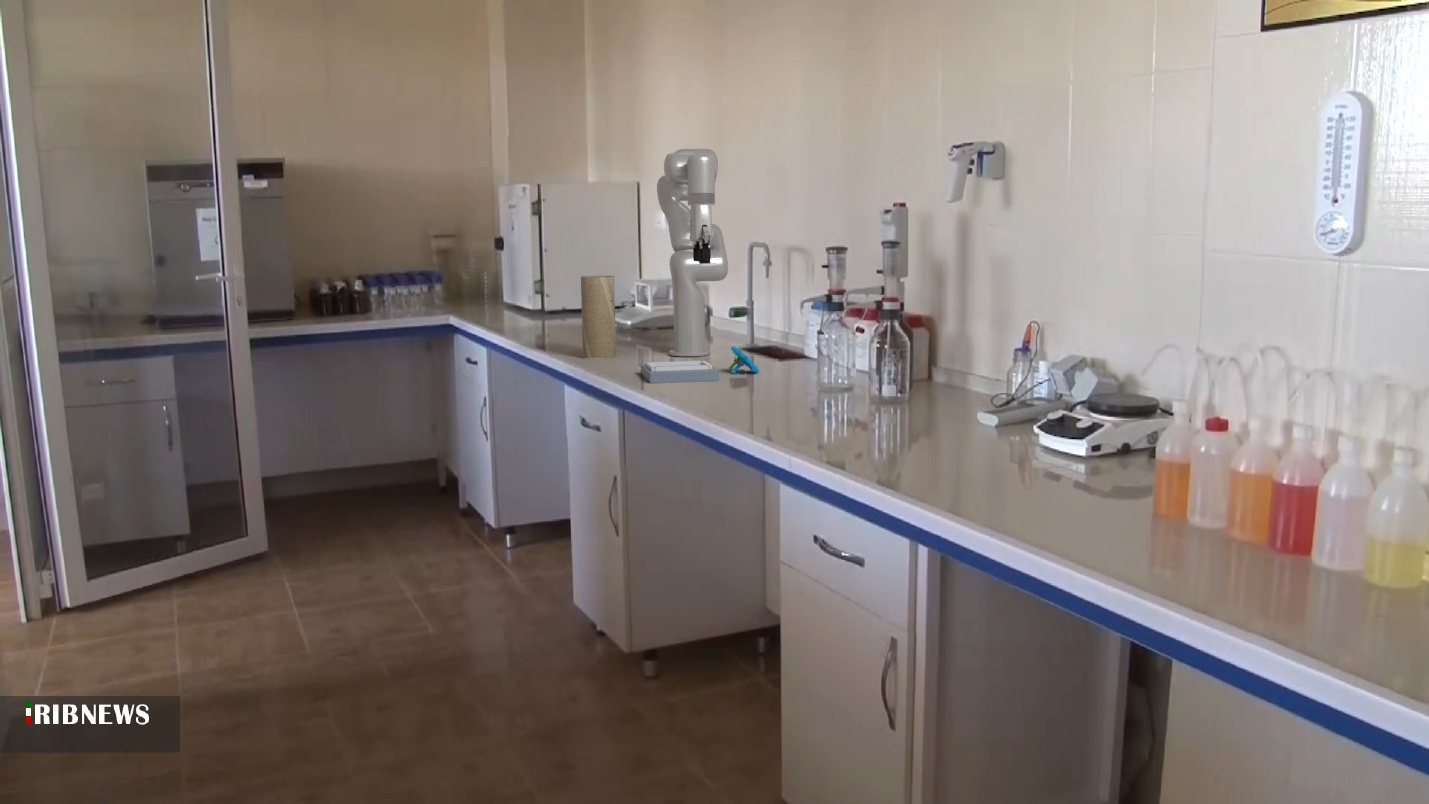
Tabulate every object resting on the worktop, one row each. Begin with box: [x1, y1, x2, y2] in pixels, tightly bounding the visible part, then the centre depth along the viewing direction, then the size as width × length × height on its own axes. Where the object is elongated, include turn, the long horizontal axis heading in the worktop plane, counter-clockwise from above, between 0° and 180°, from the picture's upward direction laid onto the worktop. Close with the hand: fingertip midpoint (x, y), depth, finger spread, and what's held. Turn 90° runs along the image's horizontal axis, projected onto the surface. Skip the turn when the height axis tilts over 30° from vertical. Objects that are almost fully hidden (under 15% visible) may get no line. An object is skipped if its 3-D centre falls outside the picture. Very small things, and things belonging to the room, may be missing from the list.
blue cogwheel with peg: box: [728, 345, 760, 375], centre depth 311 cm, size 11×6×10 cm
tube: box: [580, 275, 617, 359], centre depth 348 cm, size 10×10×25 cm
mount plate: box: [640, 360, 720, 384], centre depth 307 cm, size 20×18×4 cm
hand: (701, 262), depth 320 cm, fingers open, 9 cm apart
